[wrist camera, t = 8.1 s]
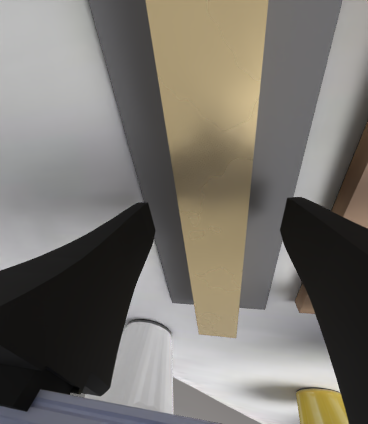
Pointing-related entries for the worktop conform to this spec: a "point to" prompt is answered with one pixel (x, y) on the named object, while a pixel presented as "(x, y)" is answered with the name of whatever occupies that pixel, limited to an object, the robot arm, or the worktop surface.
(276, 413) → the worktop surface
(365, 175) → the hook rack
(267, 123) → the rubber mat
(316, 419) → the plant pot
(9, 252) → the worktop surface
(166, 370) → the cup
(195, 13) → the brass rail
